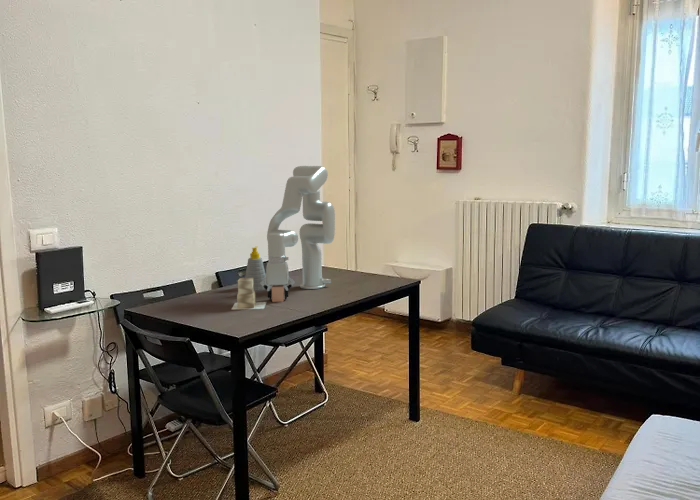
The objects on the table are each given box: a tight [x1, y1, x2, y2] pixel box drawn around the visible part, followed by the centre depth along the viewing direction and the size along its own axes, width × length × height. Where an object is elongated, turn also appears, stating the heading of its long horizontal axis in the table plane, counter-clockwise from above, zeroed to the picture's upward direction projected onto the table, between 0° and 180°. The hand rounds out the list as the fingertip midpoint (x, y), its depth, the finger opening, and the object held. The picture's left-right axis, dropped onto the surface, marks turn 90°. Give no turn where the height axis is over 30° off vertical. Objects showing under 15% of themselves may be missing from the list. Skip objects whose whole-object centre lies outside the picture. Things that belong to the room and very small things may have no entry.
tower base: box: [236, 291, 257, 308], centre depth 279 cm, size 7×7×6 cm
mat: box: [231, 301, 267, 311], centre depth 281 cm, size 14×12×1 cm
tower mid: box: [237, 277, 254, 295], centre depth 279 cm, size 6×6×6 cm
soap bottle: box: [244, 246, 269, 292], centre depth 317 cm, size 12×12×20 cm
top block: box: [271, 285, 285, 303], centre depth 290 cm, size 5×5×7 cm
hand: (278, 298), depth 290 cm, fingers open, 6 cm apart
